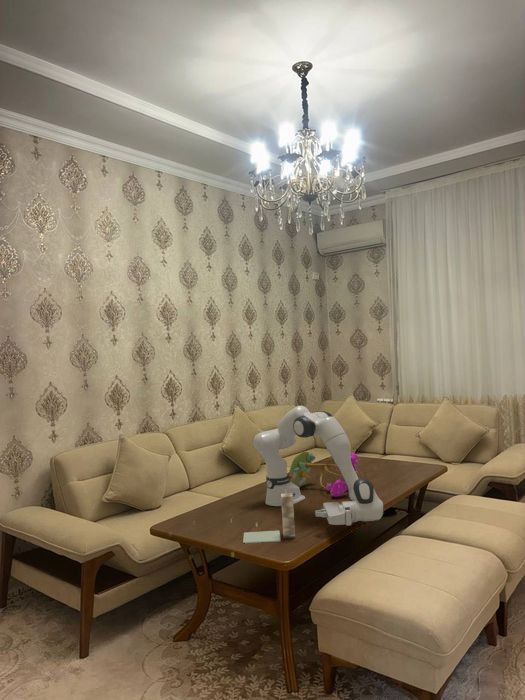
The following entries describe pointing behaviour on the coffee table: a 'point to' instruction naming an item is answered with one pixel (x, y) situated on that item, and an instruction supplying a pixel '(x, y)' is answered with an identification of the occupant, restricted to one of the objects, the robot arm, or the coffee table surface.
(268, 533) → the sage mat
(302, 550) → the coffee table surface
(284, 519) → the maple block
